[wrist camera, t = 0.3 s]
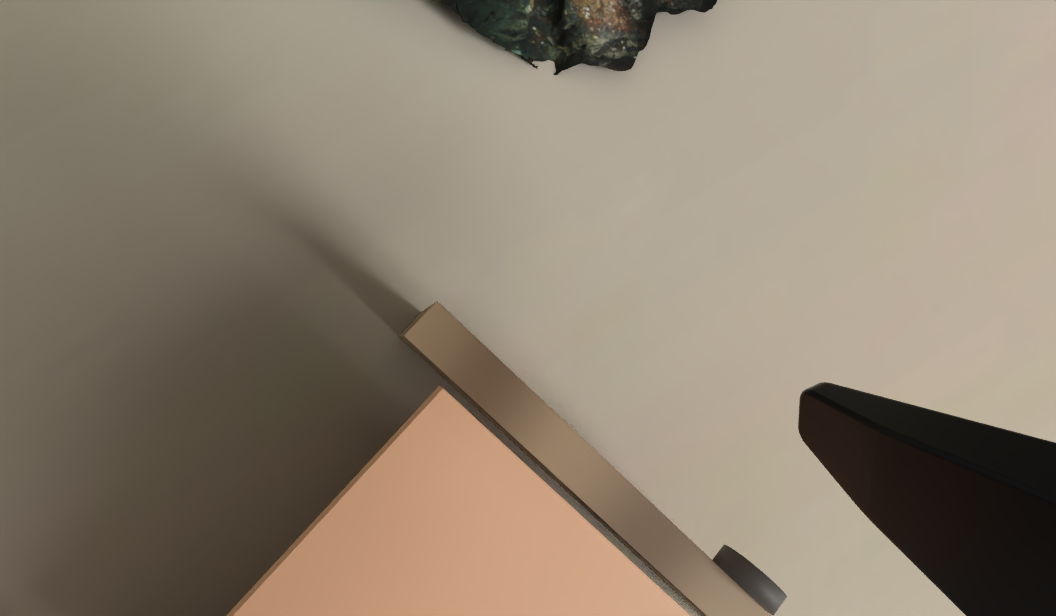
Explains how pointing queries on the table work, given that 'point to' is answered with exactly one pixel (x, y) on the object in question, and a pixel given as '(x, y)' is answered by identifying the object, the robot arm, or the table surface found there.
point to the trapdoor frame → (589, 474)
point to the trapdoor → (452, 539)
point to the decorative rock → (572, 27)
